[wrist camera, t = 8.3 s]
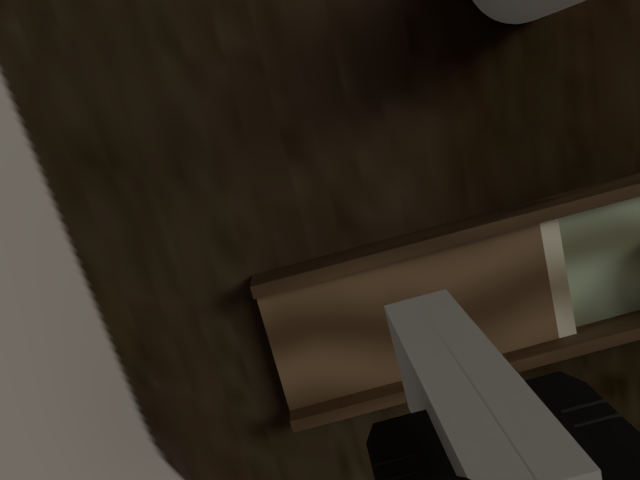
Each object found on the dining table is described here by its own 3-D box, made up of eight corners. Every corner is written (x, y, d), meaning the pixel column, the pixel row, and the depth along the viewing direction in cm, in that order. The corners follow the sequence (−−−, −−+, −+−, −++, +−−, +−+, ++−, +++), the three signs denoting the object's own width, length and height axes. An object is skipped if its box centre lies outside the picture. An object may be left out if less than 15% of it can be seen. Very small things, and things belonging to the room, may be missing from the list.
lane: (251, 275, 36) (247, 299, 31) (789, 132, 36) (867, 134, 32) (292, 412, 38) (294, 454, 33) (798, 276, 39) (873, 298, 34)
